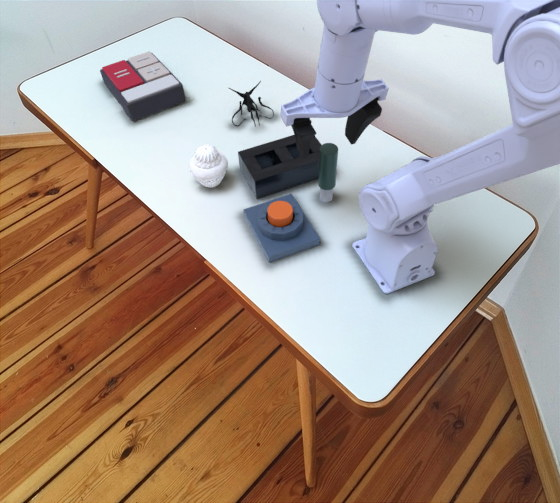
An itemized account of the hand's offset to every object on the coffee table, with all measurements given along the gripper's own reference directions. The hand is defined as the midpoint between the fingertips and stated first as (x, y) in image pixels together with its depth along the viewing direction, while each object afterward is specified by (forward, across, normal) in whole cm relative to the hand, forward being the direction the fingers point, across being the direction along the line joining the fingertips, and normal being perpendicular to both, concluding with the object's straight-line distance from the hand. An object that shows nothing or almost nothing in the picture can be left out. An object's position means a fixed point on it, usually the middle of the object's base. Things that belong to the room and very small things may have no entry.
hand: (326, 146), depth 74 cm
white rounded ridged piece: (+12, +15, -9) cm, 21 cm away
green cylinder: (+9, 0, +2) cm, 10 cm away
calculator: (+16, +19, -37) cm, 45 cm away
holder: (+11, +3, -6) cm, 13 cm away
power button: (+7, +9, +5) cm, 12 cm away
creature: (+13, +3, -21) cm, 25 cm away
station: (+9, +9, +5) cm, 14 cm away
